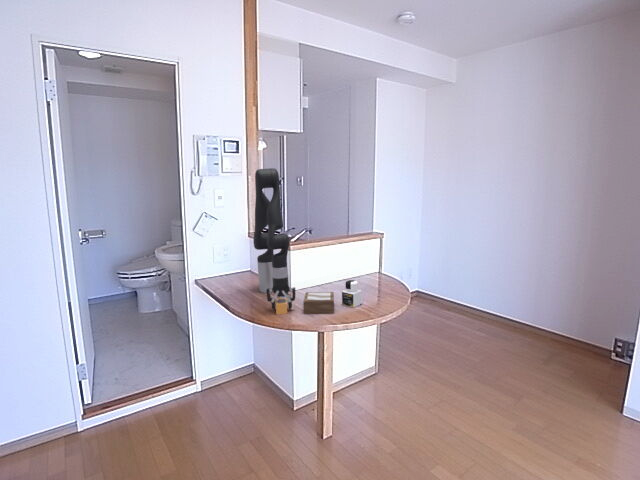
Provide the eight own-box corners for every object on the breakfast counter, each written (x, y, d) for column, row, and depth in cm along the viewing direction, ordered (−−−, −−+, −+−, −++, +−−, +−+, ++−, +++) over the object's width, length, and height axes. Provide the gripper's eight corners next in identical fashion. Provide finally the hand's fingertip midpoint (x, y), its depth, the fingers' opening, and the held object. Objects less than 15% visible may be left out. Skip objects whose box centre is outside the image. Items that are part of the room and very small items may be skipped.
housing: (277, 308, 185) (276, 298, 184) (287, 307, 185) (287, 297, 185) (276, 314, 176) (275, 304, 175) (287, 314, 177) (286, 303, 176)
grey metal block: (280, 301, 194) (280, 296, 194) (288, 301, 195) (288, 295, 195) (282, 304, 190) (281, 298, 190) (289, 303, 191) (289, 297, 191)
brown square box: (306, 303, 189) (305, 291, 188) (333, 303, 189) (333, 291, 188) (303, 314, 175) (303, 301, 174) (333, 313, 175) (333, 300, 174)
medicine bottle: (341, 304, 186) (341, 281, 184) (350, 301, 191) (350, 278, 189) (353, 308, 181) (352, 284, 179) (362, 304, 186) (361, 280, 184)
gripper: (296, 273, 181) (297, 306, 184) (266, 274, 182) (268, 306, 185) (294, 277, 174) (296, 311, 177) (263, 278, 175) (265, 312, 177)
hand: (282, 309), depth 181 cm, fingers open, 7 cm apart
